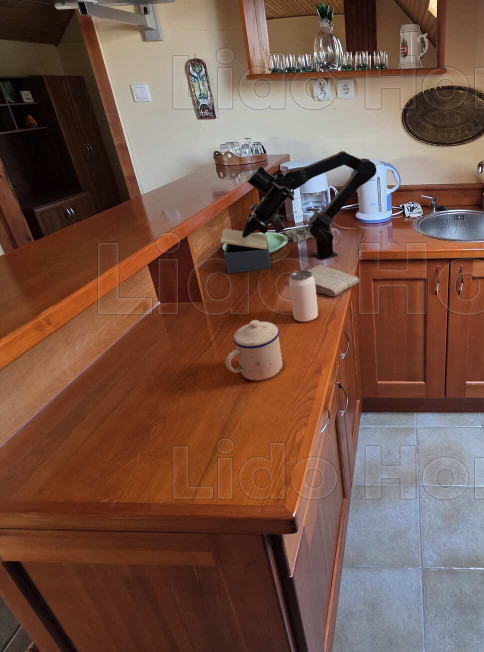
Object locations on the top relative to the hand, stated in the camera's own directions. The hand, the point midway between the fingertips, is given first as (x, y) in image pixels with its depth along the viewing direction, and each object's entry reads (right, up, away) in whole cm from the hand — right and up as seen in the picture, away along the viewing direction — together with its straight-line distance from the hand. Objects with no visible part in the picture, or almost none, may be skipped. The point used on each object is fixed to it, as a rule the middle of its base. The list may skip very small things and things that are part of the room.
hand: (243, 236), depth 140 cm
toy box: (+1, -9, +4) cm, 10 cm away
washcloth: (+30, -16, -12) cm, 35 cm away
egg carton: (+14, +2, +28) cm, 31 cm away
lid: (0, -1, +1) cm, 1 cm away
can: (+27, -24, -30) cm, 46 cm away
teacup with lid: (+20, -33, -51) cm, 64 cm away
